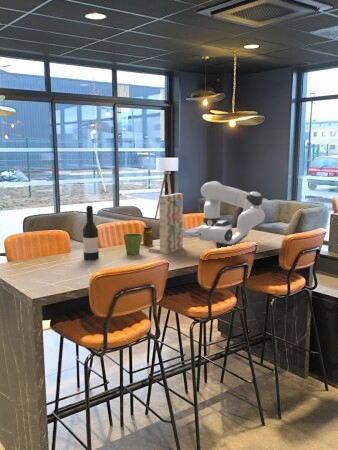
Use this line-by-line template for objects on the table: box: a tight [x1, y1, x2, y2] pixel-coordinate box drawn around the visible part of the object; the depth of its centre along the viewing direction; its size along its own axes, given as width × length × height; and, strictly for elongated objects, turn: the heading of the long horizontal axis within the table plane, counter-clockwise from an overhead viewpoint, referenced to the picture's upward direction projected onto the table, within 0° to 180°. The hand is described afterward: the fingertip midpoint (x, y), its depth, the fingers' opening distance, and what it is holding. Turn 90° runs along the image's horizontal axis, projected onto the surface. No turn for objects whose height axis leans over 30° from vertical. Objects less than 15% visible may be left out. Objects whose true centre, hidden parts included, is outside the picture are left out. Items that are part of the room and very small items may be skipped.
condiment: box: [140, 225, 155, 248], centre depth 281 cm, size 7×8×12 cm
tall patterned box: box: [148, 192, 184, 255], centre depth 265 cm, size 20×12×34 cm, turn 148°
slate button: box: [173, 200, 182, 207], centre depth 260 cm, size 4×6×4 cm
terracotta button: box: [173, 213, 180, 220], centre depth 262 cm, size 4×6×4 cm
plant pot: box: [122, 232, 143, 256], centre depth 257 cm, size 12×12×11 cm
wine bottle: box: [82, 205, 100, 261], centre depth 244 cm, size 8×8×30 cm
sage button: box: [173, 226, 180, 234], centre depth 263 cm, size 4×6×4 cm
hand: (183, 230), depth 259 cm, fingers closed
